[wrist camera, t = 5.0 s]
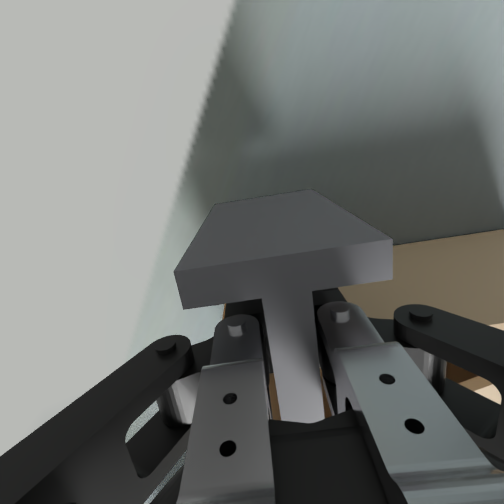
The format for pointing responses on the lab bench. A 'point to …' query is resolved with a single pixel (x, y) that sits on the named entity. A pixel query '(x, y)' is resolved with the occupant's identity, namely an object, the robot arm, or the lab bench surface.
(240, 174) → the lab bench surface
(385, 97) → the lab bench surface
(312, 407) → the carton flap
